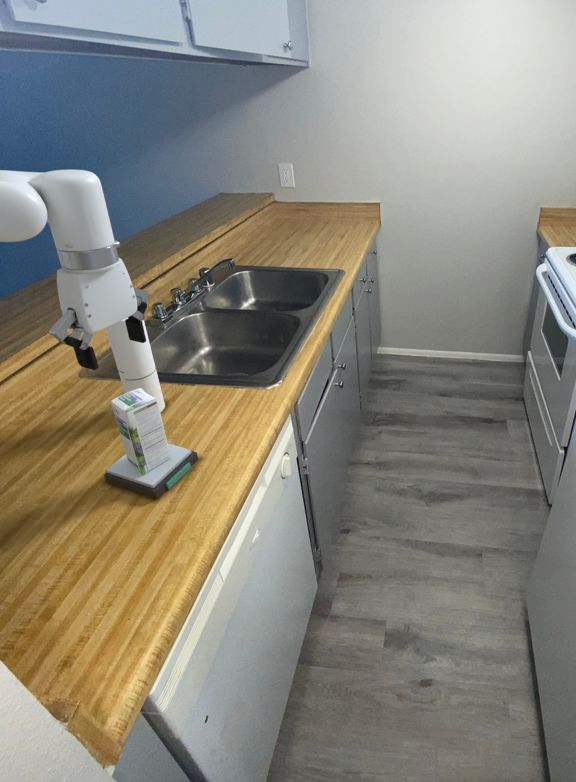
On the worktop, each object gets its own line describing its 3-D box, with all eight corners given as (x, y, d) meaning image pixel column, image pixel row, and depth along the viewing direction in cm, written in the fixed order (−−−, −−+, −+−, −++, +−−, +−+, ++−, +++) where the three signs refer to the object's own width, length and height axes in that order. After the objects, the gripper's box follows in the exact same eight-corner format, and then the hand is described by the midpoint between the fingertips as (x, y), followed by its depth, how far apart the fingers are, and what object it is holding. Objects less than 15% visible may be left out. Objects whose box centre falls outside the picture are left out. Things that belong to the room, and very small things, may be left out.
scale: (107, 484, 90) (102, 471, 88) (151, 447, 99) (148, 434, 97) (159, 502, 86) (155, 489, 85) (200, 462, 96) (197, 449, 94)
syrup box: (127, 462, 90) (107, 400, 83) (156, 445, 95) (140, 385, 88) (143, 475, 87) (124, 413, 81) (173, 457, 92) (157, 396, 85)
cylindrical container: (151, 398, 114) (126, 304, 102) (172, 406, 111) (149, 311, 99) (124, 414, 108) (94, 316, 96) (145, 423, 105) (117, 324, 94)
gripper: (117, 238, 80) (138, 328, 88) (12, 269, 65) (49, 374, 73) (153, 244, 78) (171, 336, 86) (53, 278, 63) (86, 384, 71)
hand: (115, 353), depth 79 cm, fingers open, 9 cm apart
